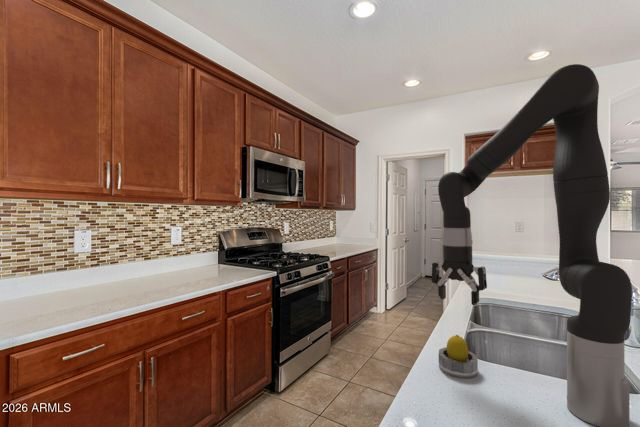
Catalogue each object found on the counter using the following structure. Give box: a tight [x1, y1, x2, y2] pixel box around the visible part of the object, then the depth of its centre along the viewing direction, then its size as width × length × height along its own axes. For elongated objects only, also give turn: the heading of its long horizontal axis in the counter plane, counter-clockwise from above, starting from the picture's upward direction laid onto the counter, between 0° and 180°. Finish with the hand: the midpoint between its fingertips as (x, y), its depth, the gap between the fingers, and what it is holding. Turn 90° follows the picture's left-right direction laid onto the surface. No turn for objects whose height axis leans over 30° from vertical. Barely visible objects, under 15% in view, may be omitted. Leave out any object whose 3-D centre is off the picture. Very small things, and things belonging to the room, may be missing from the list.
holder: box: [438, 346, 479, 380], centre depth 85 cm, size 10×10×4 cm
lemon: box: [446, 334, 469, 361], centre depth 85 cm, size 6×6×8 cm
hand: (458, 301), depth 86 cm, fingers open, 8 cm apart
